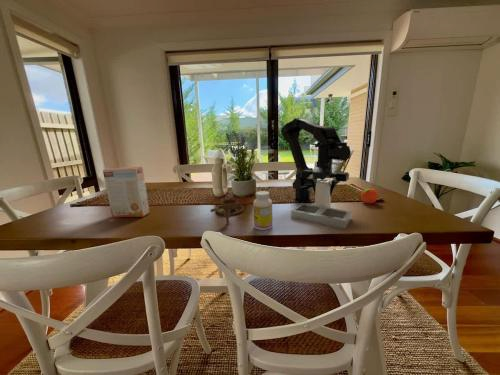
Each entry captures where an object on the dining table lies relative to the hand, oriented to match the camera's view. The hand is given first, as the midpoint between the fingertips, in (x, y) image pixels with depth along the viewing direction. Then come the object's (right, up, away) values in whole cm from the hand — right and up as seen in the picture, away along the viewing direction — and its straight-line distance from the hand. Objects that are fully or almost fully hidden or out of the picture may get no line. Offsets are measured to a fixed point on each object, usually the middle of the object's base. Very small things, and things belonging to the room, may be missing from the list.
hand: (323, 194), depth 94 cm
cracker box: (-84, -9, +1) cm, 84 cm away
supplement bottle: (-27, -11, -15) cm, 33 cm away
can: (0, -6, +2) cm, 6 cm away
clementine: (+22, -4, +5) cm, 23 cm away
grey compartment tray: (-4, -9, -10) cm, 14 cm away
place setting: (-42, -9, -1) cm, 43 cm away
